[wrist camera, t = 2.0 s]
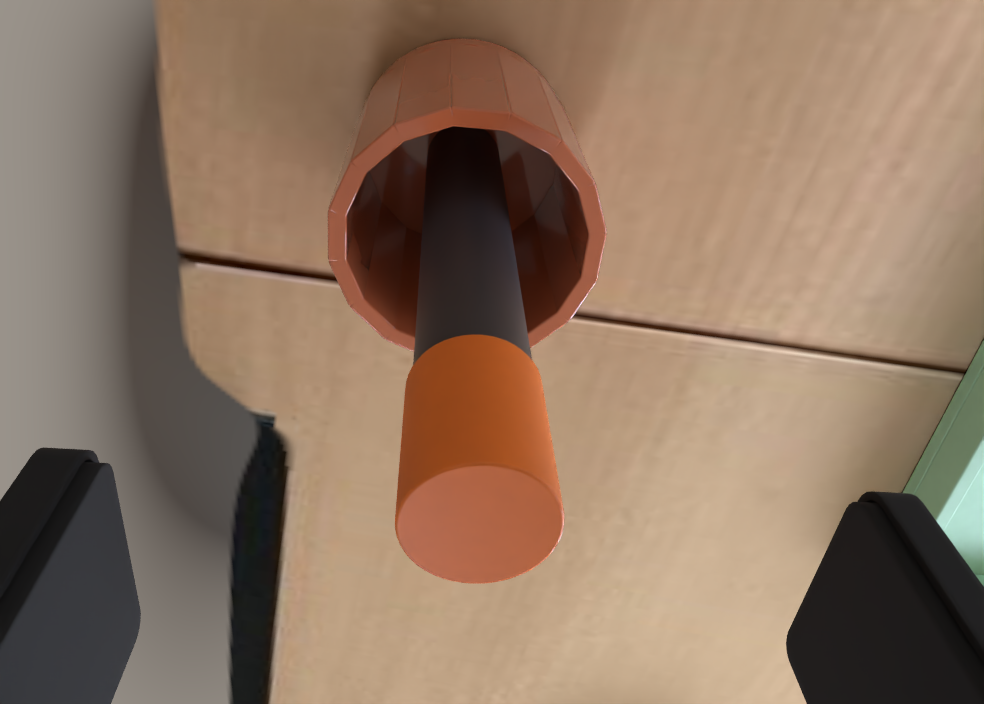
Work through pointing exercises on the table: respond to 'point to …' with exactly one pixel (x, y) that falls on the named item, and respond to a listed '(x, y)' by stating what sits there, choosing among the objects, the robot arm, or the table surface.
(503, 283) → the marker
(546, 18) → the table surface
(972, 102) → the table surface
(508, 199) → the pen cup
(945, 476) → the tray
